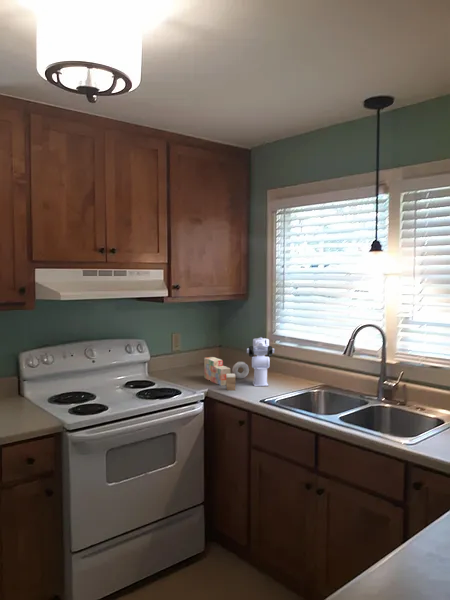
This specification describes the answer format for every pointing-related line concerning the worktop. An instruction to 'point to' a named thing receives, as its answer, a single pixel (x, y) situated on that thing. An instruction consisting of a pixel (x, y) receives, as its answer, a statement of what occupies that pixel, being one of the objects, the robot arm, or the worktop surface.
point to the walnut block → (230, 381)
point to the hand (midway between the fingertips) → (260, 354)
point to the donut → (237, 366)
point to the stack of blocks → (215, 370)
